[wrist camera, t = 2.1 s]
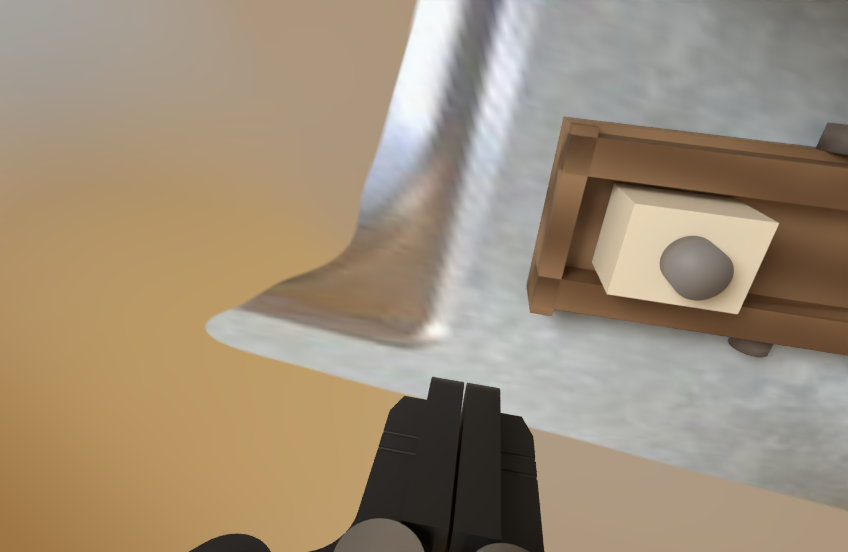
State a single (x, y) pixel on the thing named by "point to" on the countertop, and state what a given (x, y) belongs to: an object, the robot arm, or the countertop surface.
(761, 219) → the rider
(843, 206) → the wooden slider track
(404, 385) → the countertop surface
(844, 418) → the countertop surface
